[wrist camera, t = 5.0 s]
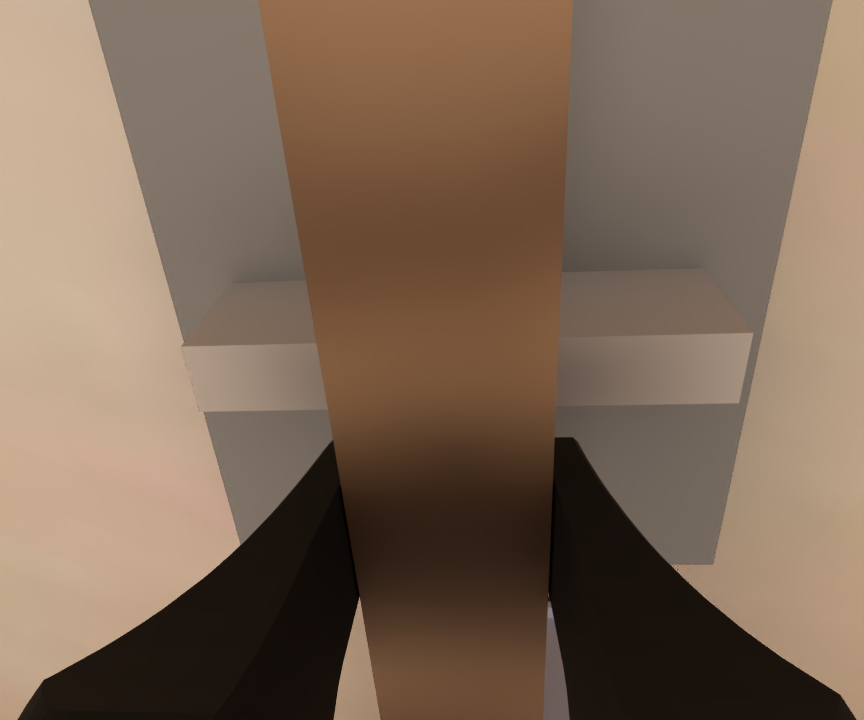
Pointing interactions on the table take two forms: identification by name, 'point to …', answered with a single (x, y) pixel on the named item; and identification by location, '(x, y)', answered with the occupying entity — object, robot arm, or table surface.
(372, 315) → the walnut beam
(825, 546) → the table surface
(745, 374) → the fulcrum stand
